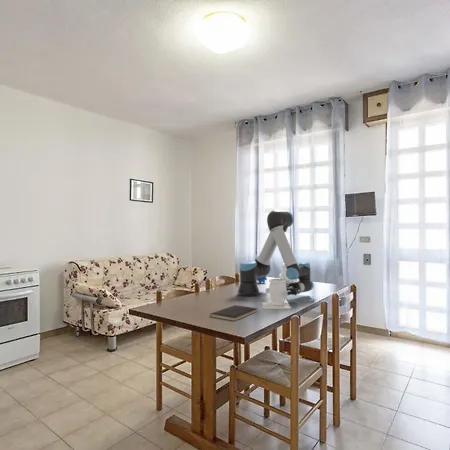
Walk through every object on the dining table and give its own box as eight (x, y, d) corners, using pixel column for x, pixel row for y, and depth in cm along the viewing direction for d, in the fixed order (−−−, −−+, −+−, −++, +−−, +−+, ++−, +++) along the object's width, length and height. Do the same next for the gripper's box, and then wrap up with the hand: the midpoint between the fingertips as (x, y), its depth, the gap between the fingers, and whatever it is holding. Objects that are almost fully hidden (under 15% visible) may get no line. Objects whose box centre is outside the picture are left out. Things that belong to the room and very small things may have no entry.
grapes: (252, 283, 285) (252, 269, 285) (254, 282, 291) (254, 268, 291) (265, 284, 280) (265, 269, 280) (267, 282, 286) (267, 268, 286)
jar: (273, 306, 199) (273, 281, 199) (266, 303, 209) (266, 279, 209) (289, 305, 201) (289, 280, 202) (282, 301, 211) (282, 278, 212)
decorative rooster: (287, 281, 290) (286, 253, 291) (303, 283, 280) (302, 253, 280) (270, 285, 272) (270, 255, 272) (287, 287, 261) (286, 256, 262)
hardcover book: (257, 312, 189) (257, 308, 189) (234, 322, 171) (234, 317, 171) (234, 308, 199) (234, 304, 199) (210, 317, 180) (210, 313, 180)
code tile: (263, 308, 195) (263, 308, 195) (262, 302, 211) (262, 302, 211) (291, 308, 194) (291, 308, 194) (287, 302, 210) (287, 302, 210)
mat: (288, 302, 212) (288, 300, 212) (285, 296, 227) (285, 295, 227) (313, 302, 210) (313, 300, 210) (309, 296, 226) (309, 295, 226)
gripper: (312, 296, 208) (291, 301, 194) (280, 291, 226) (259, 295, 212) (312, 284, 208) (291, 288, 194) (280, 280, 226) (259, 283, 212)
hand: (274, 292), depth 203 cm, fingers open, 13 cm apart
